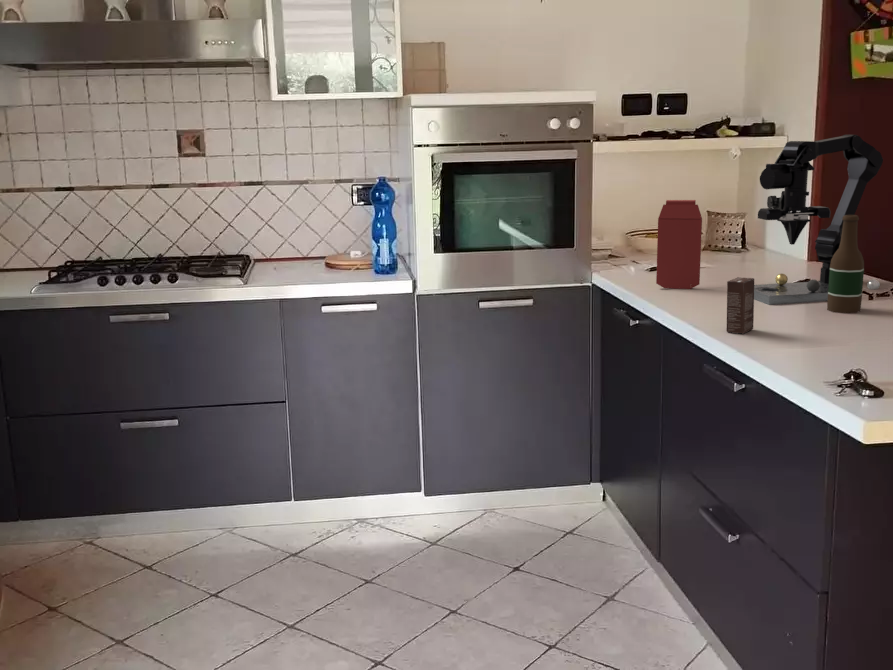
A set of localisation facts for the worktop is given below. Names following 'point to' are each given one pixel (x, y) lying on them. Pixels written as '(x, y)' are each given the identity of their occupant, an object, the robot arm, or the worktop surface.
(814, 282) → the black ball
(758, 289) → the plate
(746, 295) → the box
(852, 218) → the beer bottle
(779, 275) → the brass ball
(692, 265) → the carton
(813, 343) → the worktop surface
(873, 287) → the steel ball
